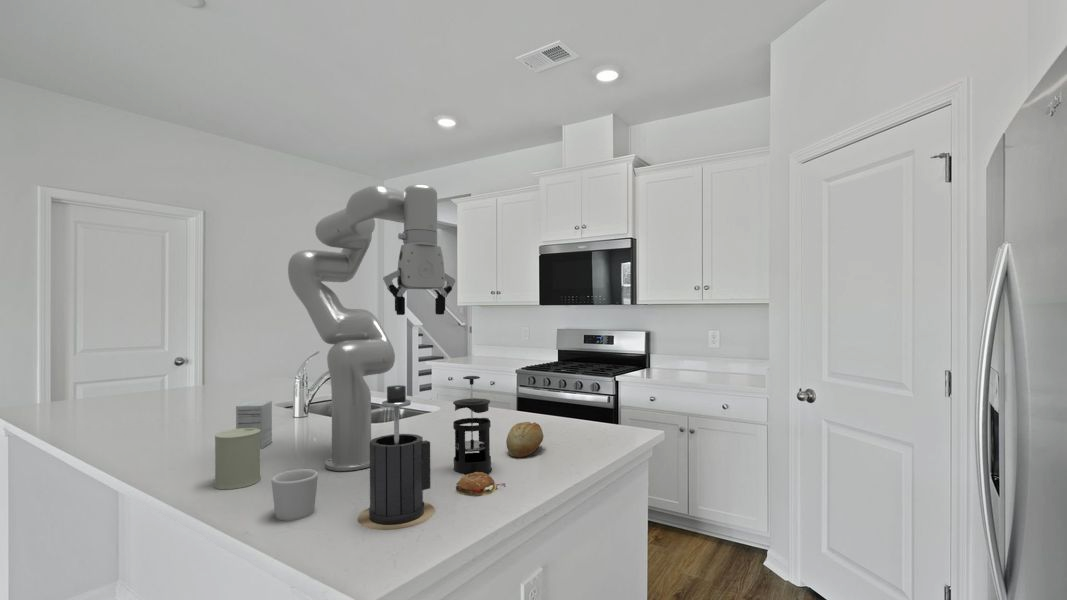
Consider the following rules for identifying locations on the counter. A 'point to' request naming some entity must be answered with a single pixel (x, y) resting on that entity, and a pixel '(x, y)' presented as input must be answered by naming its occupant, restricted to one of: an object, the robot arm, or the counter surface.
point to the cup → (294, 493)
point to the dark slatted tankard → (398, 478)
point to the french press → (475, 460)
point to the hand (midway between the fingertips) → (420, 314)
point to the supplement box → (256, 419)
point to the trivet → (428, 513)
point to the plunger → (396, 405)
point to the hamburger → (476, 484)
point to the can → (237, 458)
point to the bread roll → (524, 439)
